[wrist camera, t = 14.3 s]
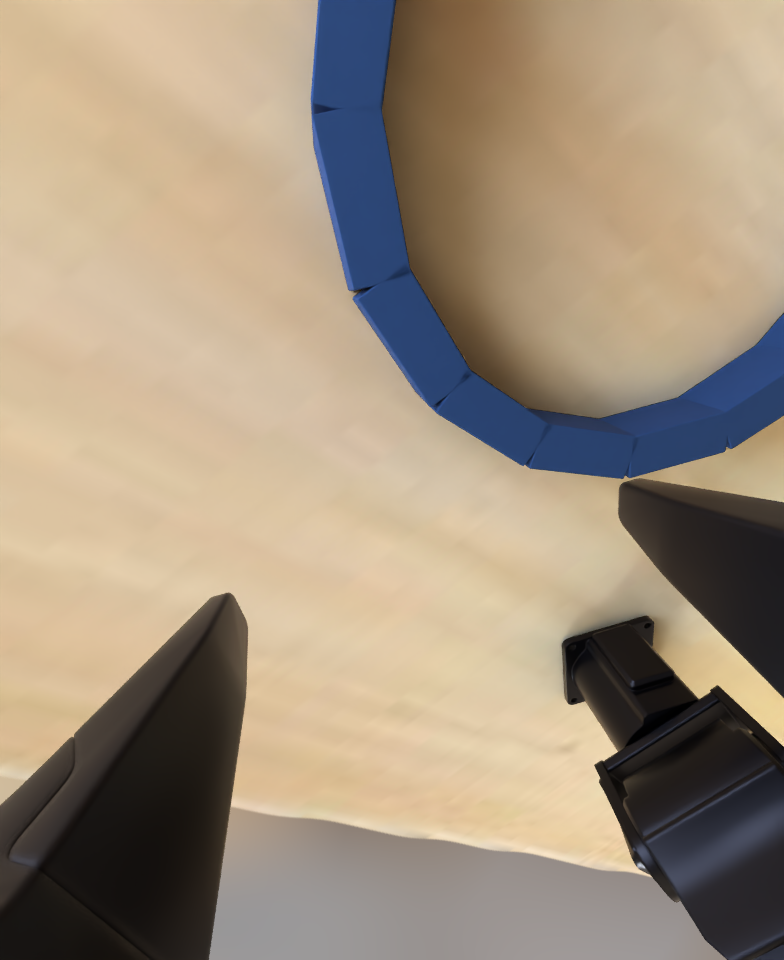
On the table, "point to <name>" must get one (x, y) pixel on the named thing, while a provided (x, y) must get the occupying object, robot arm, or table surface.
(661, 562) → the robot arm
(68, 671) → the table surface
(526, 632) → the table surface
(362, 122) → the ring
